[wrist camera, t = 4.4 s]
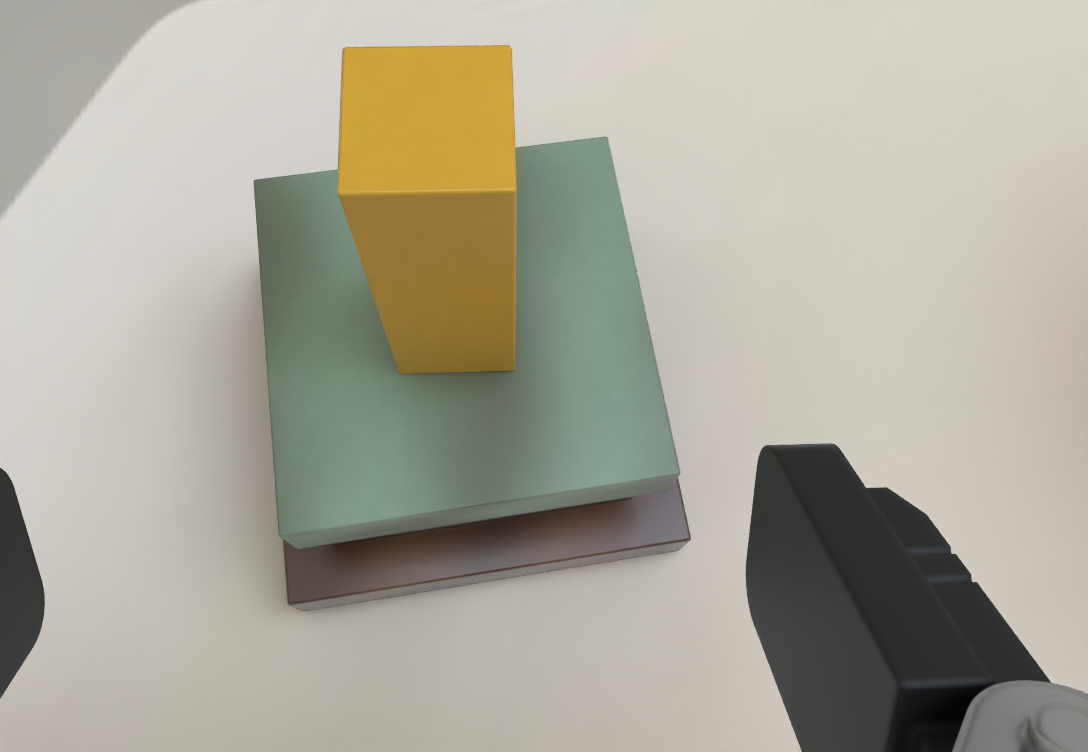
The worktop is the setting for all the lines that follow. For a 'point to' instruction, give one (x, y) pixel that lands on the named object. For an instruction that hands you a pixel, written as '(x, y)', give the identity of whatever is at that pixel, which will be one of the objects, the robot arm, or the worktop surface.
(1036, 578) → the worktop surface
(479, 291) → the bar
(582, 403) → the two-tone stepped base
